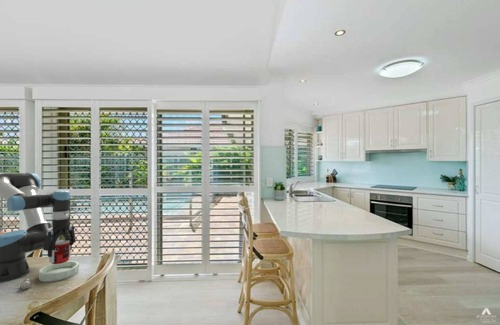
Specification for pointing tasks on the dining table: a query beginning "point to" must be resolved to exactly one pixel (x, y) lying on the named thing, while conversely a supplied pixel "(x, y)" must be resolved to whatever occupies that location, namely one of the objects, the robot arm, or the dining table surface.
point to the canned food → (61, 251)
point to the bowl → (58, 271)
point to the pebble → (25, 284)
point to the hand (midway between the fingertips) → (59, 259)
